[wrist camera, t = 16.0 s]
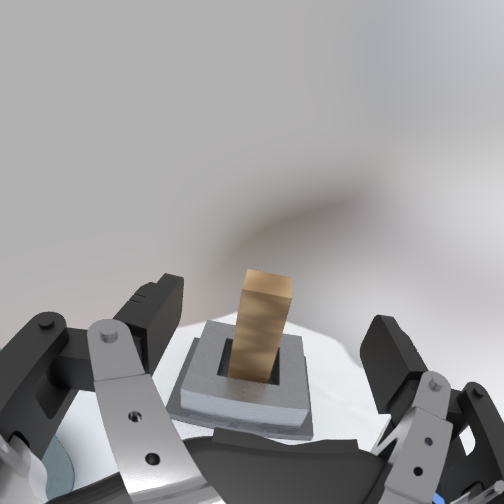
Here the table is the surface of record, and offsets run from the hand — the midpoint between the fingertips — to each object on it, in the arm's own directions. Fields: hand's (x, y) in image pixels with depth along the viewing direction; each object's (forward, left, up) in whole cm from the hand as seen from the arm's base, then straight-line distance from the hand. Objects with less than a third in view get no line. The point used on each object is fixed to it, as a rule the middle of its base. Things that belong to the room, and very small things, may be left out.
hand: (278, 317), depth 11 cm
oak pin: (0, +14, -19) cm, 24 cm away
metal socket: (0, +14, -20) cm, 25 cm away
